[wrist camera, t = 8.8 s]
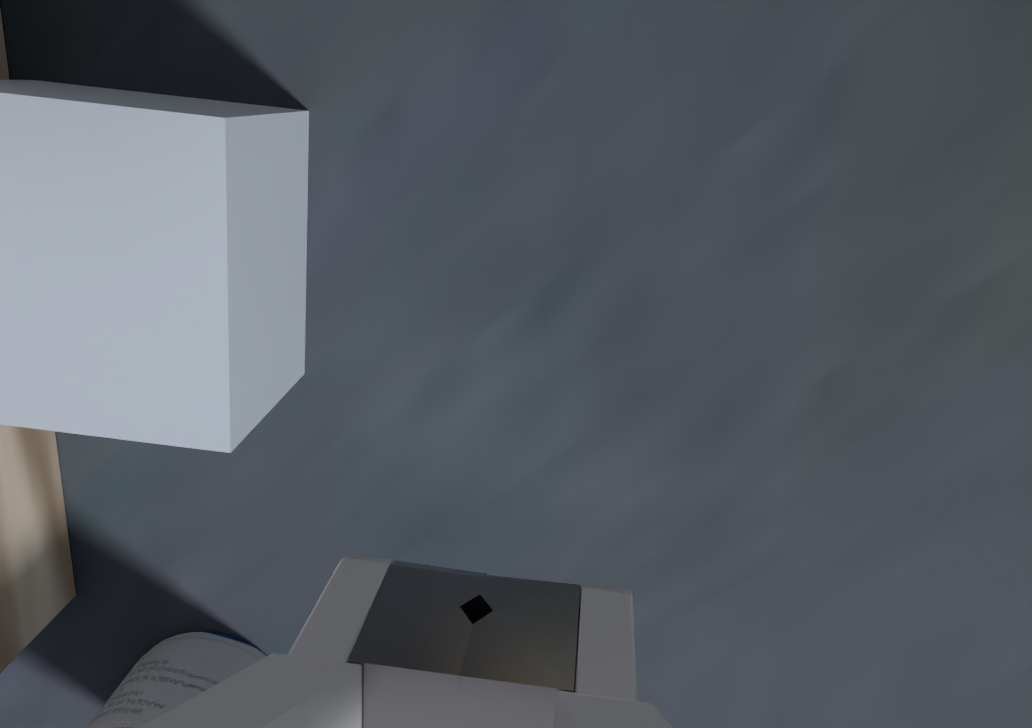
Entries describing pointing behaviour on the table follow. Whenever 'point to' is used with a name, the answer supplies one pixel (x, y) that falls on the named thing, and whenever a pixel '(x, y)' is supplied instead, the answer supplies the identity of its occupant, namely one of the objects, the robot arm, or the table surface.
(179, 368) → the block
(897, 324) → the table surface
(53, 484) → the board
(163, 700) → the spray paint can
